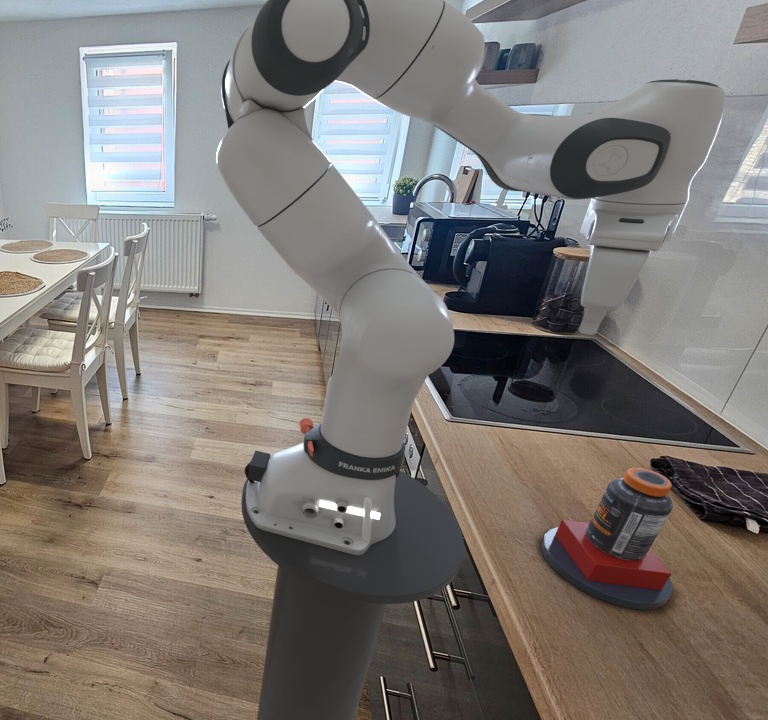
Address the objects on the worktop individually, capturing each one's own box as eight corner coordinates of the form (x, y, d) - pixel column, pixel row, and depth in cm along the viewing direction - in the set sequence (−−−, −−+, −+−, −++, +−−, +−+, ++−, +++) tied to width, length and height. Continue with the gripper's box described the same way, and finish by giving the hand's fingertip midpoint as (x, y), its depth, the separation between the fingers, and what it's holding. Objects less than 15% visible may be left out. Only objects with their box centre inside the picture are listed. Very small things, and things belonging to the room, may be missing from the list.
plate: (572, 600, 63) (576, 593, 63) (523, 526, 74) (526, 520, 74) (697, 618, 60) (701, 611, 60) (626, 538, 72) (629, 532, 71)
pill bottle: (578, 522, 69) (609, 457, 64) (634, 535, 67) (671, 468, 62) (592, 553, 64) (627, 484, 59) (653, 568, 62) (694, 498, 57)
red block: (587, 580, 64) (596, 564, 63) (554, 535, 71) (561, 519, 70) (661, 590, 62) (672, 573, 61) (620, 543, 69) (629, 527, 68)
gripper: (600, 209, 73) (567, 299, 79) (591, 233, 59) (552, 339, 65) (660, 213, 69) (620, 307, 75) (665, 239, 56) (617, 351, 61)
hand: (588, 322), depth 70 cm, fingers open, 8 cm apart
